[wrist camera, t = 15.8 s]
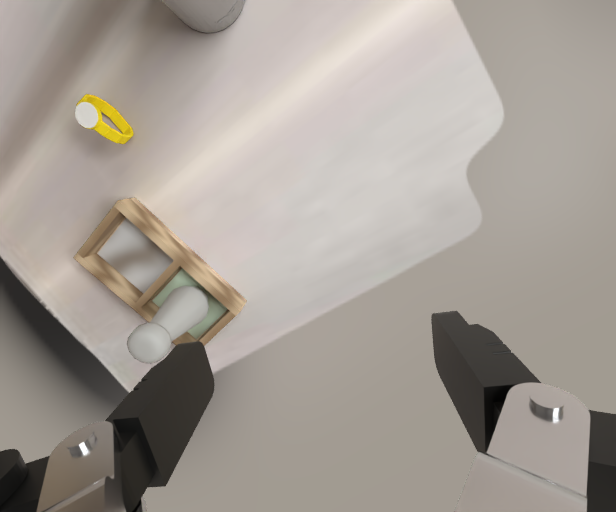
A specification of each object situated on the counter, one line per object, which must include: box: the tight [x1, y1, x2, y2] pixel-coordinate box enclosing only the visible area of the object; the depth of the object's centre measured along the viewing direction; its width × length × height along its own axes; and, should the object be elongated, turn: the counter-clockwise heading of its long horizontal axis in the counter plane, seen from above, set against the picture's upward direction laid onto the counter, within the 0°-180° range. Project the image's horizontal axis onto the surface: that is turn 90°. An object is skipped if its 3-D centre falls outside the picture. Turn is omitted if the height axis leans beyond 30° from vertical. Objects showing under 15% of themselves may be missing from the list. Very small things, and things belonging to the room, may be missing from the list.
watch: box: [75, 94, 133, 144], centre depth 38 cm, size 6×3×6 cm, turn 38°
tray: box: [74, 198, 247, 345], centre depth 44 cm, size 21×11×4 cm, turn 45°
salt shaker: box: [127, 286, 209, 364], centre depth 39 cm, size 6×6×13 cm
